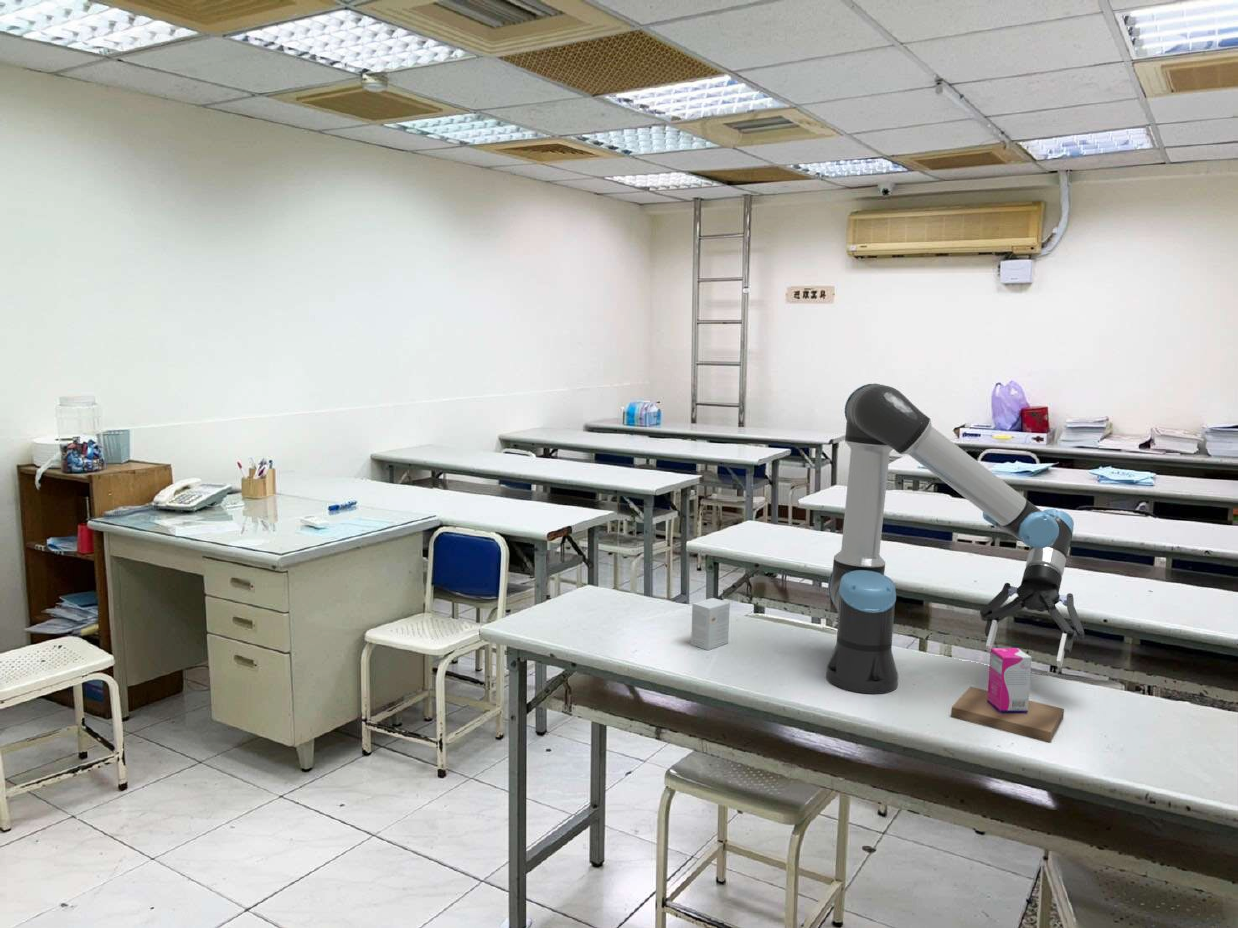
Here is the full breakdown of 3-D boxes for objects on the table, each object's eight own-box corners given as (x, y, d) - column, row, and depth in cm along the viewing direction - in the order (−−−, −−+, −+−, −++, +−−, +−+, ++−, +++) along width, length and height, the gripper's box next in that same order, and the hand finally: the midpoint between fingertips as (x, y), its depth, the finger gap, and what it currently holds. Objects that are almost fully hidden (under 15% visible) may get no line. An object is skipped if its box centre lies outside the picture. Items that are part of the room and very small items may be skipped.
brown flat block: (950, 716, 171) (951, 707, 171) (969, 695, 182) (970, 686, 182) (1050, 742, 161) (1051, 732, 160) (1063, 718, 172) (1064, 708, 172)
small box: (711, 637, 215) (712, 597, 214) (728, 643, 211) (730, 602, 210) (690, 644, 210) (691, 603, 208) (707, 650, 206) (709, 608, 204)
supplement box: (1013, 701, 175) (1018, 647, 173) (1028, 713, 169) (1033, 657, 167) (985, 701, 174) (990, 646, 173) (999, 713, 169) (1004, 657, 167)
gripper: (1108, 592, 184) (1091, 679, 174) (985, 572, 199) (963, 652, 189) (1107, 572, 179) (1089, 661, 169) (981, 554, 194) (958, 634, 184)
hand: (1022, 656), depth 179 cm, fingers open, 13 cm apart
